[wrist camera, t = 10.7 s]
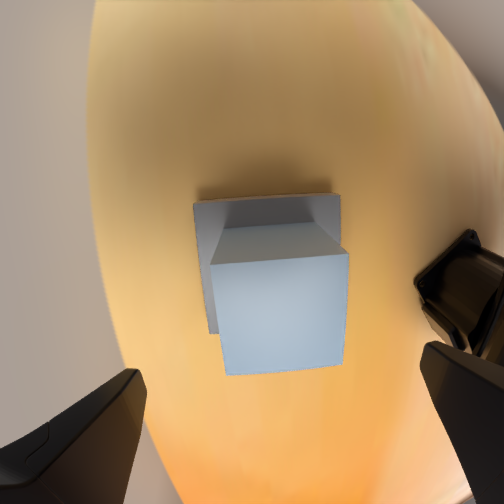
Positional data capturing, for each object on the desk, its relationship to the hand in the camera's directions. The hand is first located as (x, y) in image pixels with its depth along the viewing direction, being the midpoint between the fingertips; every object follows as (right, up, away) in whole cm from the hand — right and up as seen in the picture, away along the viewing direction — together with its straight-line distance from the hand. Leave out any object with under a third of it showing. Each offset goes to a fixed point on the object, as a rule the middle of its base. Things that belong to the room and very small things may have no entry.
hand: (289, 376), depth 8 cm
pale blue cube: (0, +3, +9) cm, 9 cm away
